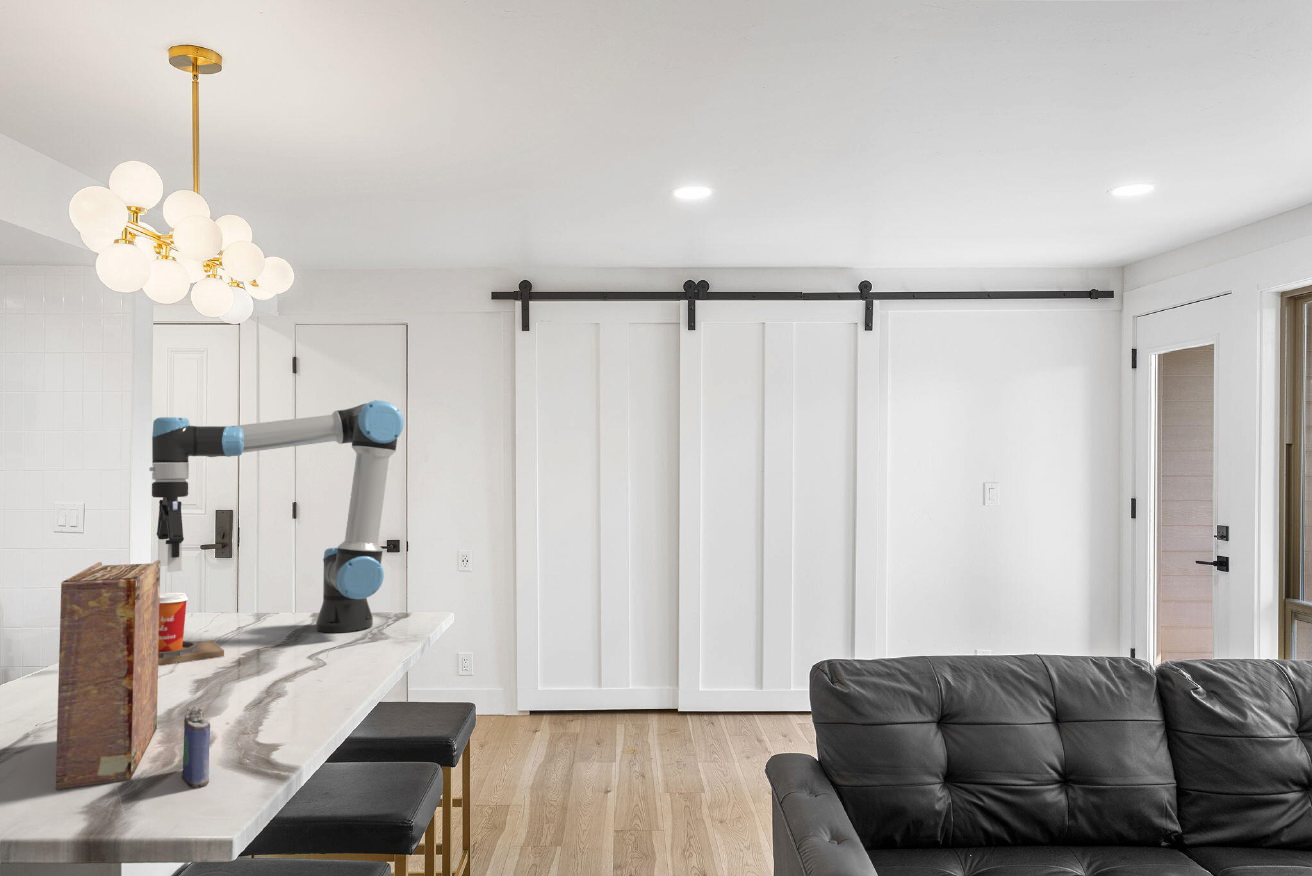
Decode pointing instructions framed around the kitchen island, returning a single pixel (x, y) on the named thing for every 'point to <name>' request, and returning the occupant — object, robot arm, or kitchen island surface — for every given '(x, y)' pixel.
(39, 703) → the kitchen island surface
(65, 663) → the book
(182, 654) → the seat board
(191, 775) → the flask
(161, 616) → the paper cup
